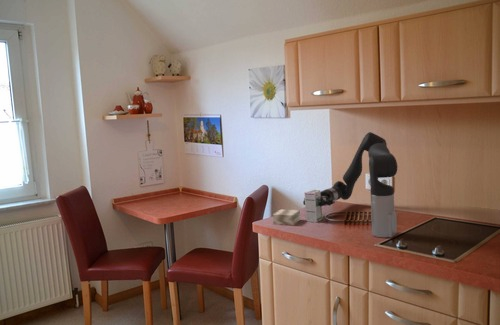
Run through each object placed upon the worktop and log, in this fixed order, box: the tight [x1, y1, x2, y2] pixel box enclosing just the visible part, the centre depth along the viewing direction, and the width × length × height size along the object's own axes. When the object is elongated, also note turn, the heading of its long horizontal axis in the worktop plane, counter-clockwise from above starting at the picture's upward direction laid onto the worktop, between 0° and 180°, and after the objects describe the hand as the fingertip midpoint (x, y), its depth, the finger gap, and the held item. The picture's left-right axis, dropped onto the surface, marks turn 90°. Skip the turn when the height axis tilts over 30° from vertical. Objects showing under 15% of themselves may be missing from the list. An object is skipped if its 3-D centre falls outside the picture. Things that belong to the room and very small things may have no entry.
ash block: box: [272, 208, 301, 226], centre depth 215 cm, size 10×10×5 cm
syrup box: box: [303, 189, 323, 223], centre depth 213 cm, size 6×6×14 cm
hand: (312, 203), depth 212 cm, fingers open, 8 cm apart
